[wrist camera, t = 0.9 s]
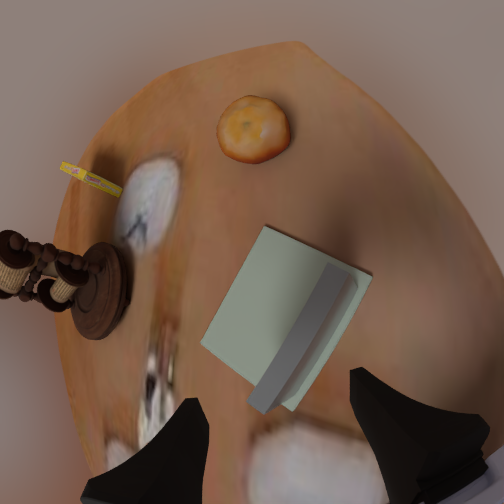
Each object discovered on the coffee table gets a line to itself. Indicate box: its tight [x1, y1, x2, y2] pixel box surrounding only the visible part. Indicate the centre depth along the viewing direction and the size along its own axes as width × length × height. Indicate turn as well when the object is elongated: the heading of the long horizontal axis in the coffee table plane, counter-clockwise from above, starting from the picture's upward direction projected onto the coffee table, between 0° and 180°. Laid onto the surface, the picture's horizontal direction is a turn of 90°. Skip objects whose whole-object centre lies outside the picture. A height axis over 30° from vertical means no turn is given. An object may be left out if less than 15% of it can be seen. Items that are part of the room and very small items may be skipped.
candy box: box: [60, 161, 123, 197], centre depth 44 cm, size 16×2×8 cm, turn 62°
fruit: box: [217, 95, 291, 164], centre depth 30 cm, size 8×8×8 cm
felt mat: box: [200, 226, 373, 412], centre depth 26 cm, size 12×14×1 cm
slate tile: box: [246, 262, 358, 414], centre depth 20 cm, size 2×11×7 cm, turn 149°
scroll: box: [0, 230, 130, 340], centre depth 30 cm, size 15×15×20 cm
